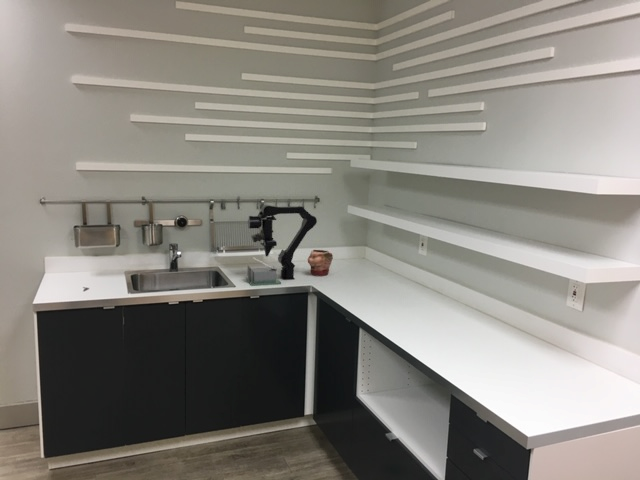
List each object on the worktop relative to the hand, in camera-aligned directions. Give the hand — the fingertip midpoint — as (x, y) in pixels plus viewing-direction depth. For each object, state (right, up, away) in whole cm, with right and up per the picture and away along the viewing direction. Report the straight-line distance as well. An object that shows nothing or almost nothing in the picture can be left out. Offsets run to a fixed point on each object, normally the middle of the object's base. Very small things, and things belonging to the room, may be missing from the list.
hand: (266, 256), depth 284 cm
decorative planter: (+30, -11, +19) cm, 37 cm away
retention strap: (-1, -4, -4) cm, 6 cm away
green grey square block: (-2, -14, -3) cm, 14 cm away
